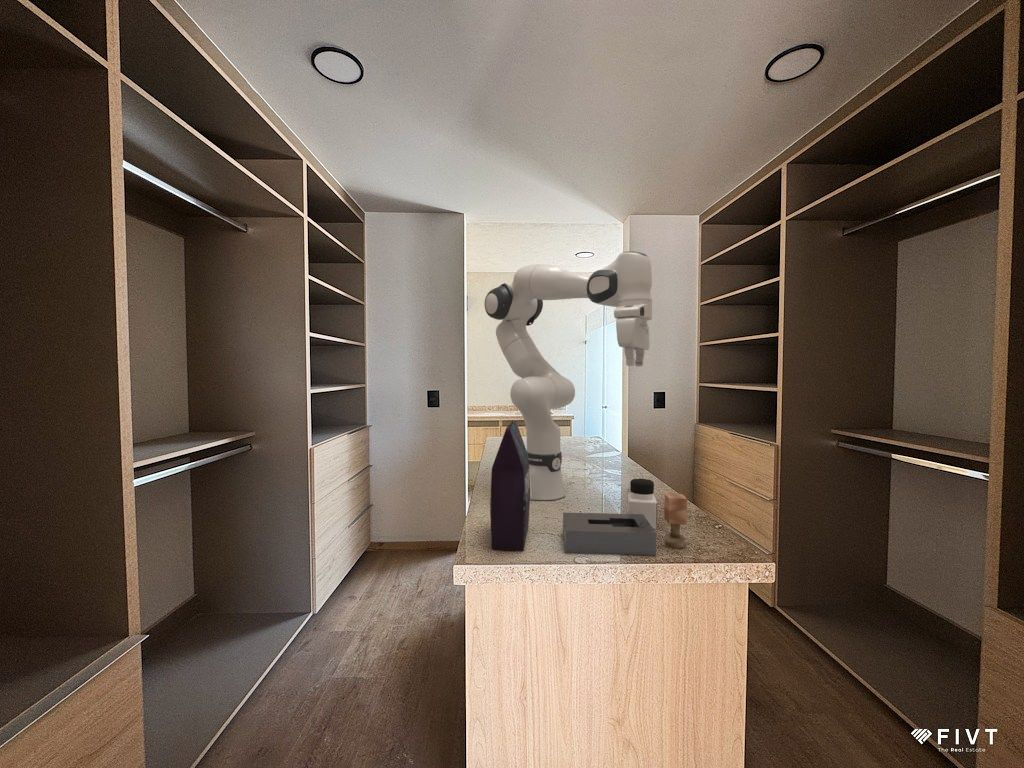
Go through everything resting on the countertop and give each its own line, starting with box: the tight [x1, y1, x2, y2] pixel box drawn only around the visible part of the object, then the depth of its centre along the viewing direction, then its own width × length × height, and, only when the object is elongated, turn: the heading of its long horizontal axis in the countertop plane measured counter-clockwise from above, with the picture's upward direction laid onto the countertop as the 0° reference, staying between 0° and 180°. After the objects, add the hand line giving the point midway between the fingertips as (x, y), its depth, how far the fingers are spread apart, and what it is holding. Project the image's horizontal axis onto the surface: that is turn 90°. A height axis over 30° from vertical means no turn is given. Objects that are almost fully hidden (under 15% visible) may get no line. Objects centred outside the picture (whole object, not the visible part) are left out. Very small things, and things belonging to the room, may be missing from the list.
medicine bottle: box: [626, 477, 658, 530], centre depth 120 cm, size 7×7×12 cm
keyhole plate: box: [562, 511, 657, 556], centre depth 107 cm, size 20×13×5 cm, turn 86°
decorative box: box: [489, 420, 531, 552], centre depth 110 cm, size 8×16×28 cm, turn 174°
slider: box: [663, 493, 688, 550], centre depth 106 cm, size 4×4×12 cm
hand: (634, 366), depth 119 cm, fingers open, 8 cm apart
